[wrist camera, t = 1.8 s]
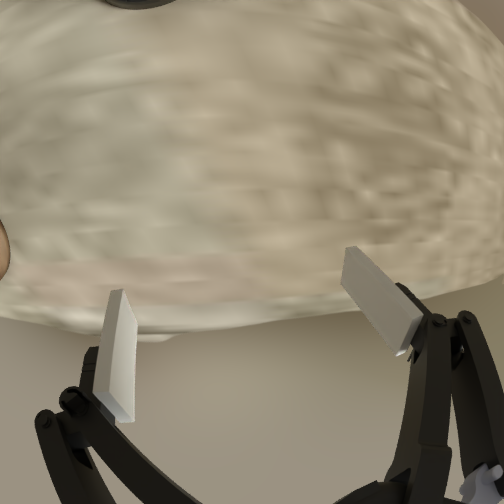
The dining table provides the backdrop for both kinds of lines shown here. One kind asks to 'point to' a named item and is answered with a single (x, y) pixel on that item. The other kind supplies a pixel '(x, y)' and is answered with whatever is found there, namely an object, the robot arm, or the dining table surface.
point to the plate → (4, 251)
